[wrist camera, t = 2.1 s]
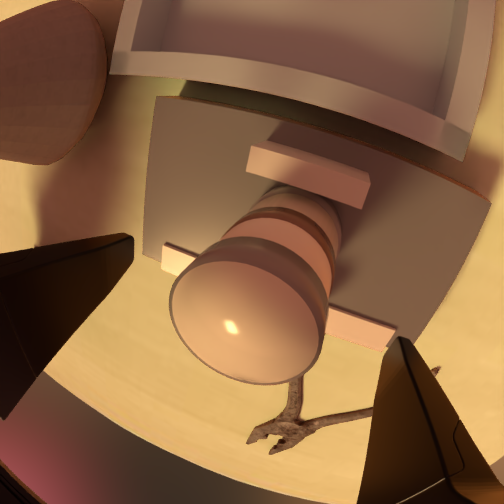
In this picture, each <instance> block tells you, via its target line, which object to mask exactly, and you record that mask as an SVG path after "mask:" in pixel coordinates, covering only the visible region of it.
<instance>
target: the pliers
mask: <svg viewBox="0 0 504 504" xmlns="http://www.w3.org/2000/svg"><path fill="white" fill-rule="evenodd" d="M325 334H326V333H325ZM431 372H432V374H433V375H434V377H435V376H436V375H437V373H438V369H437V368H434V369H432V370H431ZM301 382H302V376H301V377H299V378H297V379H295V380H292V381H290V382H289V391H288V401H287V405H286V407H285V409H284V410H283V412H281V413H280V414H279V415H278V416H277V417H276V418H275V419H272V420H270V421H268V422H266V423H263V424H261V425H259V426H256V427H255V428H254V429H253V431H252V433H251V435H250V436H249V438H248V440H247V442H246V444H251V443H254V442H257V440H258V439H267V437H268V435H269V434H273V435H280V436H283V439H284V440H281V439H279V440H278V443H277V445H274V446H273V447H272V449H271V450H270V451H269V455H272V454H275V453H278V452H281V451H283V450H286V449H289V448H292V447H294V446H295V445H296V444H298V443H299V442H300V441H302V440H303V439H304V438H305V437H306V436H308V435H310V434H313V433H315V431H316V430H317V429H320V428H322V427H325V426H329V425H333V424H338V423H343V422H348V421H353V420H358V419H362V418H367V417H371V416H372V414H373V407H371V408H367V409H363V410H358V411H352V412H347V413H340V414H334V415H328V416H323V417H319V418H315V419H311V420H308V421H305V422H300V421H298V420H296V418H297V416H298V413H299V410H300V406H301V399H302V394H301Z"/></svg>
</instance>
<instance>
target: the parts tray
mask: <svg viewBox="0 0 504 504" xmlns="http://www.w3.org/2000/svg"><path fill="white" fill-rule="evenodd" d="M495 3H496V0H125V1H124V5H123V9H122V13H121V17H120V21H119V25H118V30H117V34H116V39H115V44H114V49H113V54H112V60H111V66H110V72H109V74H111V75H138V76H154V77H166V78H176V79H185V80H193V81H201V82H208V83H215V84H221V85H227V86H233V87H239V88H244V89H249V90H254V91H259V92H264V93H268V94H273V95H277V96H282V97H286V98H290V99H294V100H298V101H302V102H305V103H309V104H313V105H316V106H320V107H323V108H327V109H330V110H333V111H337V112H340V113H343V114H346V115H349V116H352V117H355V118H358V119H361V120H364V121H367V122H370V123H372V124H375V125H378V126H381V127H383V128H386V129H388V130H391V131H394V132H396V133H399V134H401V135H404V136H406V137H408V138H411V139H413V140H416V141H418V142H420V143H422V144H425V145H427V146H429V147H431V148H434V149H436V150H438V151H440V152H442V153H444V154H446V155H448V156H451V157H453V158H455V159H457V160H459V161H461V162H463V159H464V156H465V153H466V150H467V147H468V144H469V141H470V137H471V134H472V131H473V127H474V124H475V120H476V116H477V113H478V109H479V105H480V101H481V97H482V92H483V88H484V83H485V78H486V73H487V68H488V62H489V56H490V50H491V43H492V36H493V27H494V17H495Z"/></svg>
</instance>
